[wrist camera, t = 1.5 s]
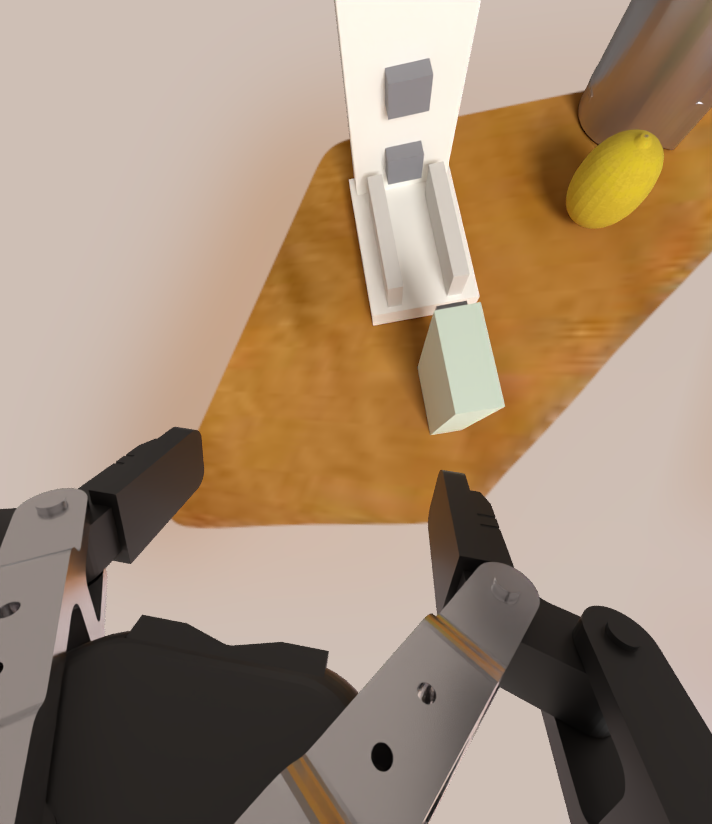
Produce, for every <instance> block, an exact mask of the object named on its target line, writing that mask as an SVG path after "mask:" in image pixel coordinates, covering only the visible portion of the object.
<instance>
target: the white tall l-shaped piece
mask: <svg viewBox="0 0 712 824" xmlns="http://www.w3.org/2000/svg"><path fill="white" fill-rule="evenodd" d="M480 2H481V0H334V3H335V12H336V21H337V29H338V38H339V47H340V56H341V65H342V73H343V82H344V91H345V99H346V108H347V118H348V127H349V135H350V144H351V153H352V162H353V171H354V179H349V184H350V192H351V199H352V205H353V210H354V216H355V222H356V228H357V234H358V240H359V245H360V251H361V257H362V263H363V269H364V275H365V280H366V286H367V292H368V298H369V304H370V309H371V315H372V321H373V326H374V325H379V324H385V323H390V322H396V321H402V320H407V319H413V318H418V317H424V316H429V315H433V313H434V310H435V309H436V306H440V305H445V304H451V303H456V302H462V301H467V304H473V303H476V302H477V300H478V298H479V292H478V288H477V283H476V279H475V275H474V271H473V266H472V262H471V258H470V253H469V249H468V245H467V241H466V236H465V232H464V228H463V223H462V219H461V215H460V211H459V206H458V202H457V198H456V194H455V189H454V185H453V181H452V176H451V172H450V168H449V159H450V153H451V148H452V143H453V138H454V133H455V128H456V123H457V118H458V113H459V108H460V103H461V98H462V93H463V88H464V83H465V78H466V73H467V68H468V63H469V58H470V53H471V47H472V43H473V38H474V33H475V28H476V23H477V18H478V13H479V8H480Z"/></svg>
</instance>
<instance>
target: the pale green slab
mask: <svg viewBox="0 0 712 824" xmlns="http://www.w3.org/2000/svg"><path fill="white" fill-rule="evenodd" d="M417 368H418V373H419V378H420V383H421V388H422V394H423V399H424V404H425V409H426V415H427V420H428V425H429V430H430V435H434V434H440V433H446V432H453V431H459V430H462V429H464V428H466V427H468V426H470V425H472V424H474V423H475V422H477V421H479V420H481V419H483V418H485V417H486V416H488V415H490V414H492V413H494V412H496V411H497V410H499V409H501V408H503V407H505V404H504V400H503V396H502V391H501V387H500V383H499V379H498V374H497V370H496V366H495V361H494V357H493V353H492V349H491V344H490V340H489V336H488V331H487V327H486V323H485V319H484V314H483V310H482V306H481V302H478V303H473V304H467V301H462V302H456V303H451V304H445V305H440V306H436V309H435V310H434V313H433V316H432V320H431V323H430V326H429V330H428V333H427V337H426V340H425V343H424V347H423V350H422V354H421V357H420V361H419V364H418V367H417Z"/></svg>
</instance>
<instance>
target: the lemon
mask: <svg viewBox="0 0 712 824" xmlns="http://www.w3.org/2000/svg"><path fill="white" fill-rule="evenodd" d="M663 160H664V153H663V147H662V145H661V143H660V141H659V139H658V138H657V137H656V136H655V135H653V134H652V133H650V132H648V131H645V130H640V129H632V130H626V131H622V132H619V133H617V134H615V135H613V136H611V137H609V138H607V139H606V140H604V141H603V142H602V143H601V144H599V145H598V146H597V147H596V148H595V149H594V150H593V151H592V152H591V153H590V154H589V155H588V156H587V157H586V158H585V159H584V161H583V162H582V163H581V165H580V166H579V167H578V169H577V170H576V172H575V173H574V175H573V177H572V179H571V182H570V184H569V187H568V190H567V194H566V208H567V212H568V214H569V216H570V218H571V219H572V220H573V221H574V222H575V223H576V224H578V225H580V226H582V227H585V228H591V229H596V228H603V227H607V226H609V225H612V224H615V223H617V222H618V221H620V220H621V219H623V218H625V217H626V216H628V215H629V214H630V213H631V212H633V211H634V210H635V209H636V208H637V207H638V206H639V205H640V204H641V202H642V201H643V200H644V199H645V198H646V197H647V195H648V194H649V193H650V191H651V190H652V188H653V186H654V185H655V183H656V181H657V179H658V177H659V175H660V173H661V170H662V166H663Z"/></svg>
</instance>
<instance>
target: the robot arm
mask: <svg viewBox="0 0 712 824" xmlns="http://www.w3.org/2000/svg"><path fill="white" fill-rule="evenodd" d="M711 107H712V0H631V2H630V4H629V6H628V8H627V10H626V12H625V14H624V16H623V18H622V20H621V22H620V23H619V26H618V27H617V29H616V31H615V33H614V35H613V37H612V39H611V41H610V43H609V45H608V47H607V49H606V51H605V53H604V54H603V56H602V59H601V61H600V62H599V64H598V66H597V67H596V69H595V71H594V73H593V74H592V76H591V79H590V81H589V83H588V85H587V88H586V89H585V91H584V93H583V95H582V97H581V99H580V103H579V108H578V112H579V120H580V123H581V126H582V127H583V129H584V131H585V132H586V134H587V135H588V136H589V137H590V138H591V139H592V140H593V141H594V142H596V143H598V144H601V143H602V142H603V141H604V140H606V139H607V138H609V137H611V136H613V135H615V134H617V133H619V132H622V131H626V130H632V129H640V130H645V131H648V132H650V133H652V134H653V135H655V136H656V137H657V138H658V139H659V141H660V143H661V145H662V147H663V148H666V149H670V150H673V149H675V148H676V147H677V145H678V144H679V143H680V142H681V141H682V140H683V139H684V138H685V136H686V135H687V134H688V133H689V132H690V131H691V130H692V129H693V128H694V126H695V125H696V124H697V123H698V122H699V121H700V120H701V119H702V117H703V116H704V115H705V114H706V113H707V112H708V111H709V110H710V108H711ZM203 475H204V463H203V451H202V438H201V434H200V432H199V431H198V430H192V429H186V428H179V427H173V428H172V429H170V430H169V431H167V432H166V433H165V434H163V435H162V436H161V437H159V438H158V439H154V440H151V441H149V442H146V443H144V444H141V445H139V446H137V447H136V448H135V449H133V450H132V451H130V452H129V453H128V454H127V455H126V456H123V457H122V458H120V459H119V460H118V461H116V464H112V465H111V466H109V467H108V468H106V469H105V470H104V471H102V472H101V473H99V474H98V475H97V476H95V477H94V478H92V479H91V480H89V481H88V482H87V483H85V484H84V485H82V486H81V487H80V488H78V489H74V488H62V489H56V490H51V491H48V492H44V493H41V494H39V495H36V496H34V497H32V498H30V499H28V500H27V501H25V502H24V503H23V504H21V505H20V506H19V507H18V508H13V509H0V824H429V822H430V820H431V818H432V816H433V814H434V813H435V810H436V809H437V807H438V805H439V803H440V801H441V799H442V797H443V795H444V793H445V792H446V790H447V788H448V786H449V783H450V782H451V780H452V778H453V776H454V774H455V772H456V770H457V768H458V766H459V764H460V762H461V760H462V758H463V756H464V754H465V752H466V750H467V748H468V747H469V745H470V743H471V741H472V739H473V737H474V735H475V733H476V731H477V729H478V728H479V726H480V724H481V722H482V720H483V718H484V716H485V714H486V712H487V710H488V709H489V707H490V705H491V702H492V701H493V699H494V697H495V695H496V693H497V691H498V689H499V688H500V687H501V688H503V689H504V690H506V691H508V692H510V693H512V694H514V695H515V696H517V697H519V698H521V699H523V700H524V701H526V702H528V703H530V704H532V705H534V706H535V707H537V708H539V709H541V712H542V716H543V719H544V723H545V727H546V730H547V735H548V738H549V742H550V746H551V750H552V754H553V757H554V761H555V765H556V769H557V773H558V776H559V780H560V784H561V788H562V792H563V796H564V799H565V803H566V807H567V811H568V815H569V819H570V822H571V824H712V734H711V732H710V730H709V729H708V727H707V725H706V724H705V722H704V720H703V719H702V717H701V716H700V714H699V712H698V711H697V709H696V707H695V706H694V704H693V702H692V701H691V699H690V697H689V696H688V695H687V693H686V691H685V689H684V688H683V686H682V684H681V683H680V681H679V679H678V678H677V676H676V675H675V673H674V671H673V670H672V668H671V666H670V665H669V663H668V661H667V660H666V658H665V657H664V655H663V653H662V652H661V650H660V649H659V647H658V645H657V644H656V642H655V641H654V640H653V638H652V637H651V636H650V635H649V634H648V633H647V632H646V631H645V630H644V629H643V628H642V627H641V626H640V625H639V624H637V623H636V622H635V621H633V620H632V619H631V618H629V617H627V616H626V615H624V614H622V613H620V612H618V611H616V610H614V609H611V608H608V607H604V606H591V607H588V608H587V609H586V610H585V611H584V612H583V614H582V616H581V617H580V616H578V615H575V614H573V613H571V612H568V611H566V610H564V609H561V608H559V607H557V606H555V605H552V604H550V603H548V602H546V601H545V600H543V599H541V598H540V597H539V594H538V591H537V590H536V588H535V586H534V585H533V583H532V582H531V581H530V580H529V579H528V578H527V577H526V576H525V575H524V574H523V573H521V572H520V571H518V570H517V569H515V568H514V566H513V563H512V561H511V558H510V555H509V552H508V550H507V547H506V544H505V541H504V539H503V536H502V533H501V531H500V530H499V525H498V523H497V520H496V519H495V515H494V512H493V509H492V506H491V504H490V503H489V502H488V501H487V499H486V498H485V497H484V496H483V495H482V494H481V493H480V492H476V491H470V489H469V485H468V482H467V479H466V476H465V474H463V473H457V472H451V471H445V470H440V472H439V475H438V478H437V482H436V486H435V490H434V494H433V498H432V502H431V506H430V510H429V517H428V531H429V540H430V550H431V559H432V569H433V579H434V588H435V599H436V608H437V616H434V615H433V614H429V615H428V616H426V617H425V618H424V619H423V620H422V621H421V623H420V624H419V625H418V626H417V627H416V628H415V629H414V631H413V632H412V633H411V634H410V635H409V636H408V637H407V639H406V640H405V641H404V642H403V643H402V644H401V645H400V647H399V648H398V649H397V650H396V651H395V652H394V653H393V655H392V656H391V657H390V658H389V659H388V660H387V661H386V663H385V664H384V665H383V666H382V667H381V668H380V670H379V671H378V672H377V673H376V674H375V675H374V676H373V677H372V679H371V680H370V681H369V682H368V683H367V684H366V686H365V687H364V688H363V689H362V690H361V691H360V692H359V693H358V692H357V691H356V689H355V688H354V687H353V686H352V685H350V684H349V683H348V682H347V681H346V680H345V679H343V678H342V677H341V676H339V675H338V674H337V673H335V672H333V671H331V670H330V669H328V668H327V659H328V652H329V651H325V650H320V649H315V648H310V647H305V646H300V645H295V644H289V643H284V642H275V643H263V644H262V643H261V644H249V645H235V646H230V645H226V644H223V643H222V642H220V641H218V640H216V639H214V638H212V637H210V636H209V635H207V634H205V633H203V632H202V631H200V630H198V629H196V628H194V627H192V626H191V625H189V624H187V623H182V622H177V621H171V620H167V619H162V618H156V617H151V616H146V615H142V616H141V617H140V619H139V620H138V621H137V623H136V624H135V626H134V627H133V628H132V630H131V631H126V632H121V633H116V634H111V635H108V636H105V612H106V594H107V571H106V567H107V566H108V565H109V564H110V563H111V561H118V562H123V563H128V564H131V563H132V562H133V561H134V560H135V559H136V558H137V556H138V555H139V554H140V553H141V552H142V551H143V550H144V548H145V547H146V546H147V545H148V544H149V543H150V542H151V541H152V539H153V538H154V537H155V536H156V535H157V534H158V533H159V532H160V530H161V529H162V528H163V527H164V526H165V525H166V523H168V521H169V520H170V519H171V518H172V517H173V516H174V515H175V514H176V512H177V511H178V510H179V509H180V508H181V507H182V506H183V505H184V503H185V502H186V501H187V500H188V499H189V498H190V497H191V495H192V494H193V493H194V492H195V491H196V490H197V489H198V487H199V486H200V484H201V482H202V479H203Z"/></svg>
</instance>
